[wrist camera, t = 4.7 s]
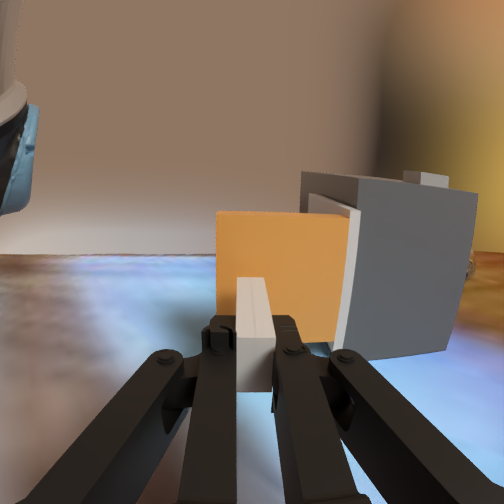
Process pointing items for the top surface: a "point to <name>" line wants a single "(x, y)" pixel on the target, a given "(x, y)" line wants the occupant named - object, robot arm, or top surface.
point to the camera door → (293, 264)
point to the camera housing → (402, 259)
